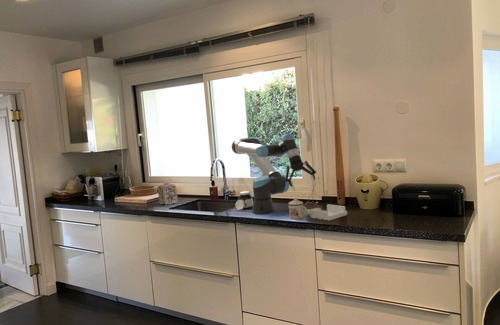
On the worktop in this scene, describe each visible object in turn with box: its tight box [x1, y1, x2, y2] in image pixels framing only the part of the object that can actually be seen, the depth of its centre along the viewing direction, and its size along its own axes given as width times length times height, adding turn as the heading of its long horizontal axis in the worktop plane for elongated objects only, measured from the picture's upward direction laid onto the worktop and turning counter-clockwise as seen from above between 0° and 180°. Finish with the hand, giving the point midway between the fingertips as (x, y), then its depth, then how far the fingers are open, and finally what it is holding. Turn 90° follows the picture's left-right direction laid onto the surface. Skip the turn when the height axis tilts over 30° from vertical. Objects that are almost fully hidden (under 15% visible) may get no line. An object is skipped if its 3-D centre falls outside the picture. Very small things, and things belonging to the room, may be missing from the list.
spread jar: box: [235, 190, 254, 211], centre depth 275 cm, size 12×11×12 cm
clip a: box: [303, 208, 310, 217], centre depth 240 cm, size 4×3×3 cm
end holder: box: [309, 203, 348, 222], centre depth 232 cm, size 14×17×5 cm
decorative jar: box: [157, 181, 179, 205], centre depth 319 cm, size 12×12×18 cm
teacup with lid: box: [287, 198, 307, 220], centre depth 234 cm, size 12×9×12 cm
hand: (304, 188), depth 241 cm, fingers open, 13 cm apart
